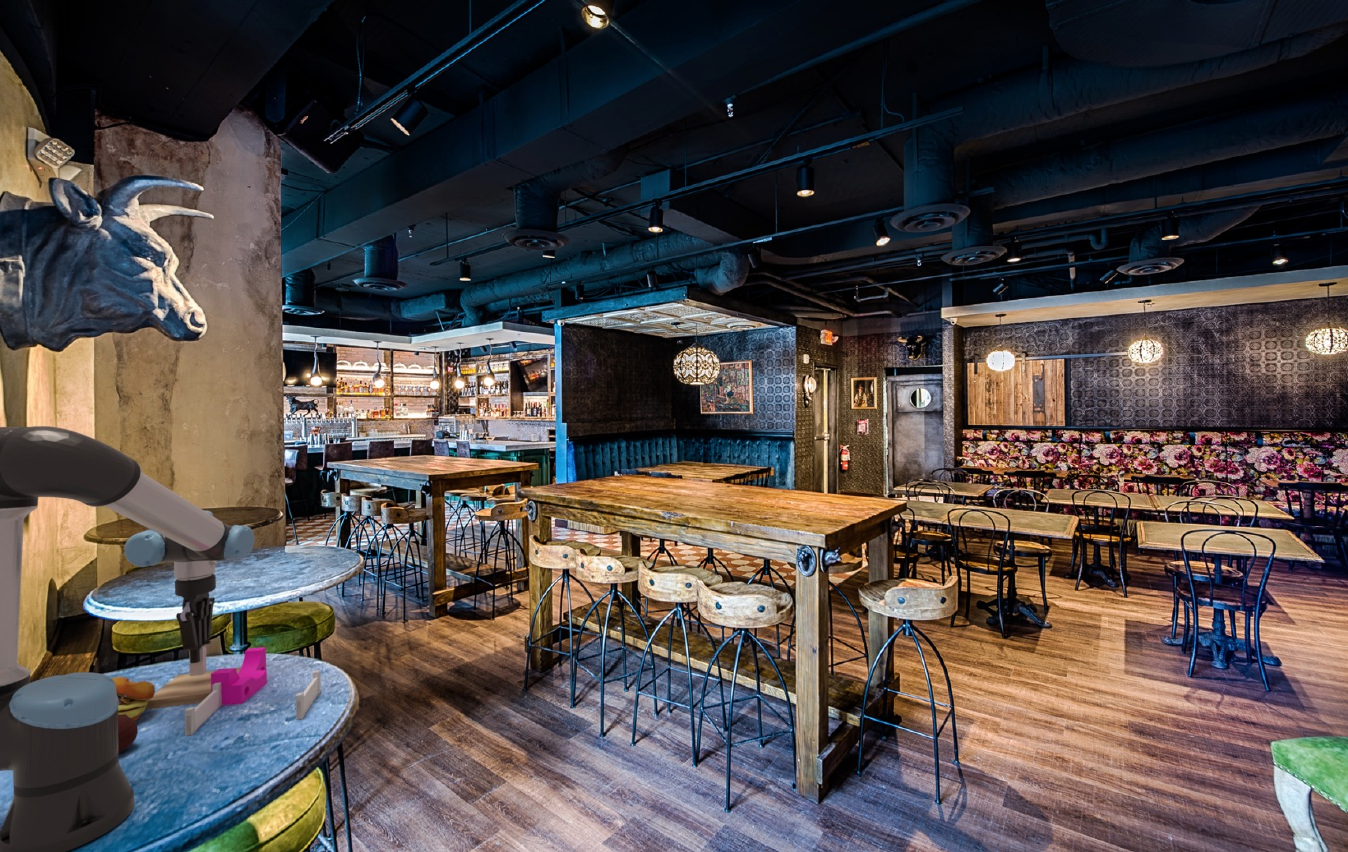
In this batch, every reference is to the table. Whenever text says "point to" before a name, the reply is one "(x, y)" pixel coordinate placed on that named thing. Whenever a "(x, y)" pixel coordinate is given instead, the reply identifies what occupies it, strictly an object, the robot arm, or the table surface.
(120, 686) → the cheeseburger
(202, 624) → the robot arm
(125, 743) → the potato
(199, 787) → the table surface
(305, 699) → the grey bracket pieces
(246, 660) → the toy block
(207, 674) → the board
